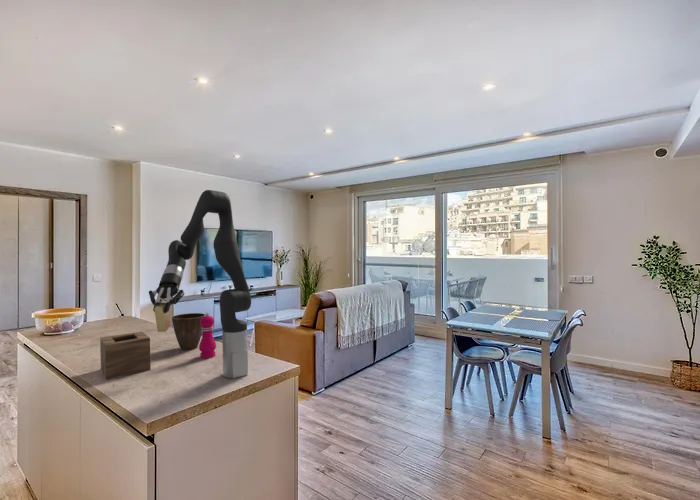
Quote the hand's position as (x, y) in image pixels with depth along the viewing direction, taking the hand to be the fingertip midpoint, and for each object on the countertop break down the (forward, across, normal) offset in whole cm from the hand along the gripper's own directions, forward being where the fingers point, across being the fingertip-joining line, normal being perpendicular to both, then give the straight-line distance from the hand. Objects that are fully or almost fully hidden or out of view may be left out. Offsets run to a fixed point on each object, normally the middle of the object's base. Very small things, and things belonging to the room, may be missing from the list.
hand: (160, 312), depth 134 cm
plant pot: (-9, -2, +45) cm, 46 cm away
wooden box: (+10, -18, +25) cm, 32 cm away
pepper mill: (+1, +11, +34) cm, 36 cm away
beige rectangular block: (+3, 0, +8) cm, 8 cm away
